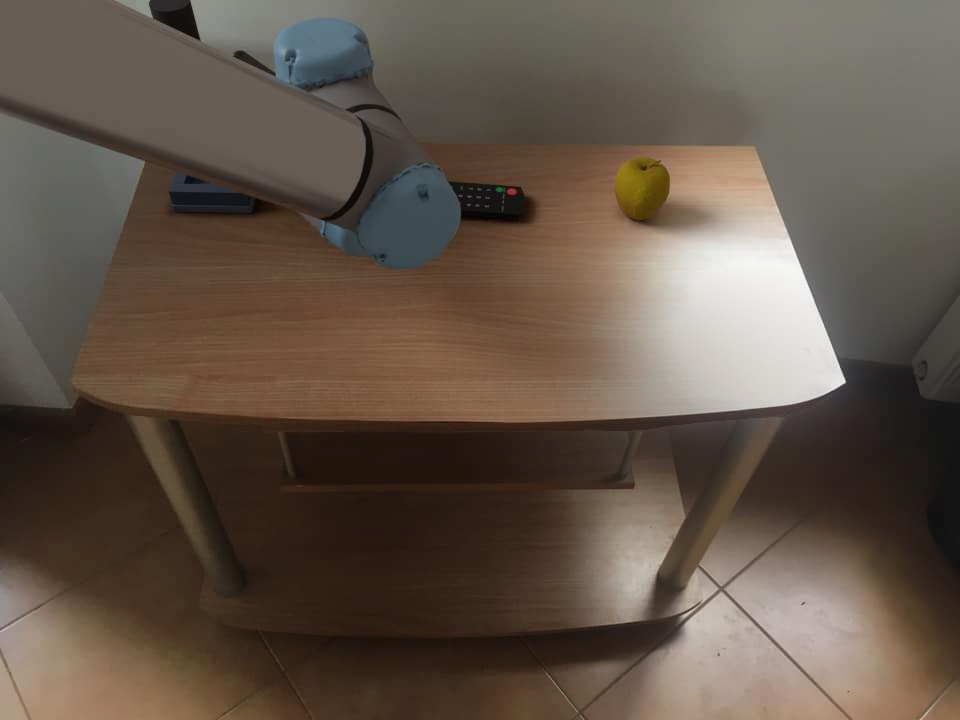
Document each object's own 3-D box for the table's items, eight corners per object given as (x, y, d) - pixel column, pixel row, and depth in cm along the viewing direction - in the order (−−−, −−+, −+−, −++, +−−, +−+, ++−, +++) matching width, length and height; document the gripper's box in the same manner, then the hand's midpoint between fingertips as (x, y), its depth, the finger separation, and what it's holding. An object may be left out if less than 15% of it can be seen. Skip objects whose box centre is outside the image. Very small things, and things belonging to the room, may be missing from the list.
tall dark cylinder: (185, 147, 90) (143, 10, 77) (194, 126, 92) (155, -9, 80) (220, 148, 90) (184, 12, 77) (228, 128, 92) (194, -7, 80)
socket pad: (173, 212, 93) (166, 191, 91) (190, 164, 99) (184, 144, 97) (251, 213, 94) (246, 193, 91) (264, 166, 100) (259, 146, 97)
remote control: (333, 181, 98) (332, 172, 97) (524, 195, 98) (525, 187, 97) (325, 208, 95) (323, 199, 94) (523, 223, 94) (524, 214, 93)
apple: (672, 218, 96) (688, 164, 90) (633, 236, 94) (646, 182, 87) (638, 190, 99) (651, 136, 93) (599, 207, 97) (609, 152, 91)
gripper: (212, 214, 75) (101, 107, 86) (356, 146, 83) (238, 55, 93) (192, 149, 69) (76, 42, 80) (349, 82, 77) (224, -7, 88)
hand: (164, 50), depth 87 cm, fingers closed on tall dark cylinder, 4 cm apart
